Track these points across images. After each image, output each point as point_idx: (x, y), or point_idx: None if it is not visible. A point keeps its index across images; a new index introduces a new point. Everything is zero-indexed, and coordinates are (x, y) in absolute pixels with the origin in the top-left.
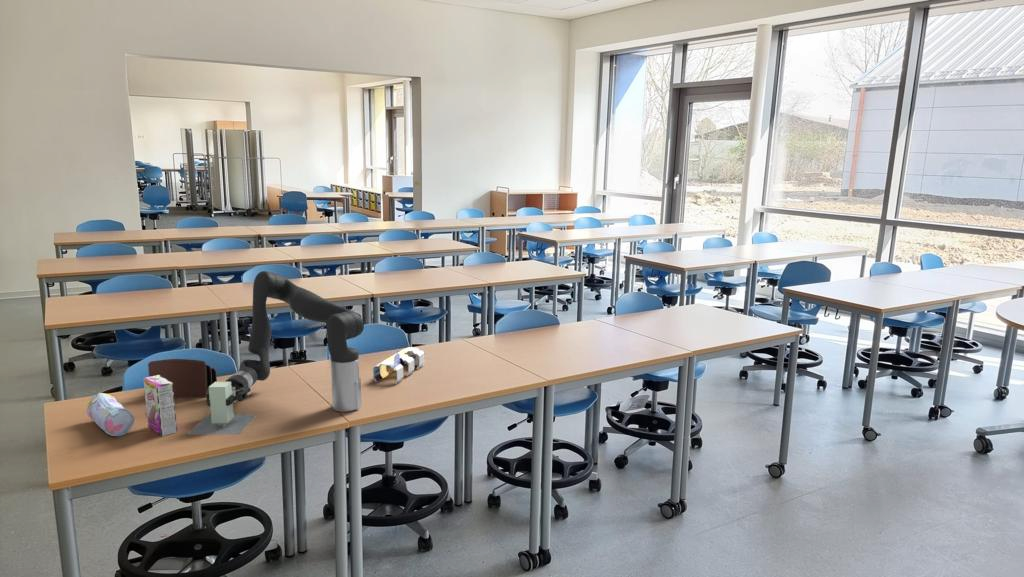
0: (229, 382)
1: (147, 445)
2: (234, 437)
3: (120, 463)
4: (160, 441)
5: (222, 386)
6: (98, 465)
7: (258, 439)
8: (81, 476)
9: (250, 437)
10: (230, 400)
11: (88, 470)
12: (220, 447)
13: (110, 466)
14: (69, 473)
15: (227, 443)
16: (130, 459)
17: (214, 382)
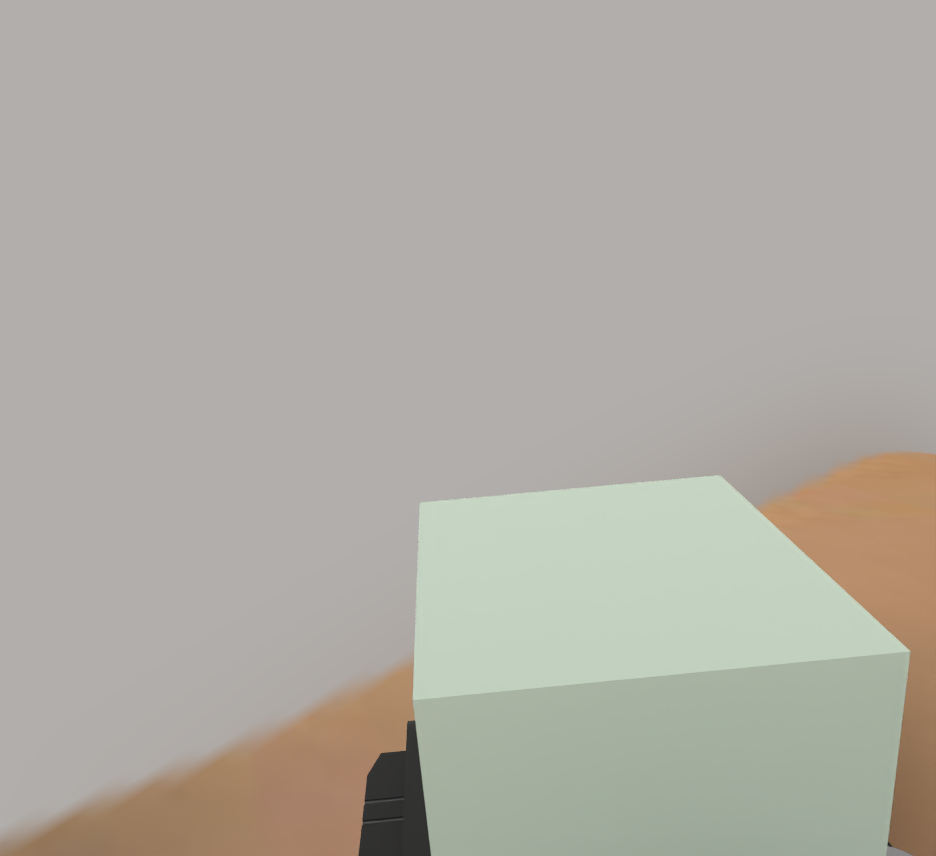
0: (431, 650)
1: (931, 651)
2: (319, 826)
3: (817, 522)
4: (916, 704)
5: (478, 508)
6: (899, 505)
7: (93, 812)
8: (849, 465)
9: (165, 841)
10: (378, 761)
11: (884, 484)
12: (380, 680)
13: (830, 506)
14: (931, 468)
15: (348, 729)
16: (814, 545)
17: (861, 614)
